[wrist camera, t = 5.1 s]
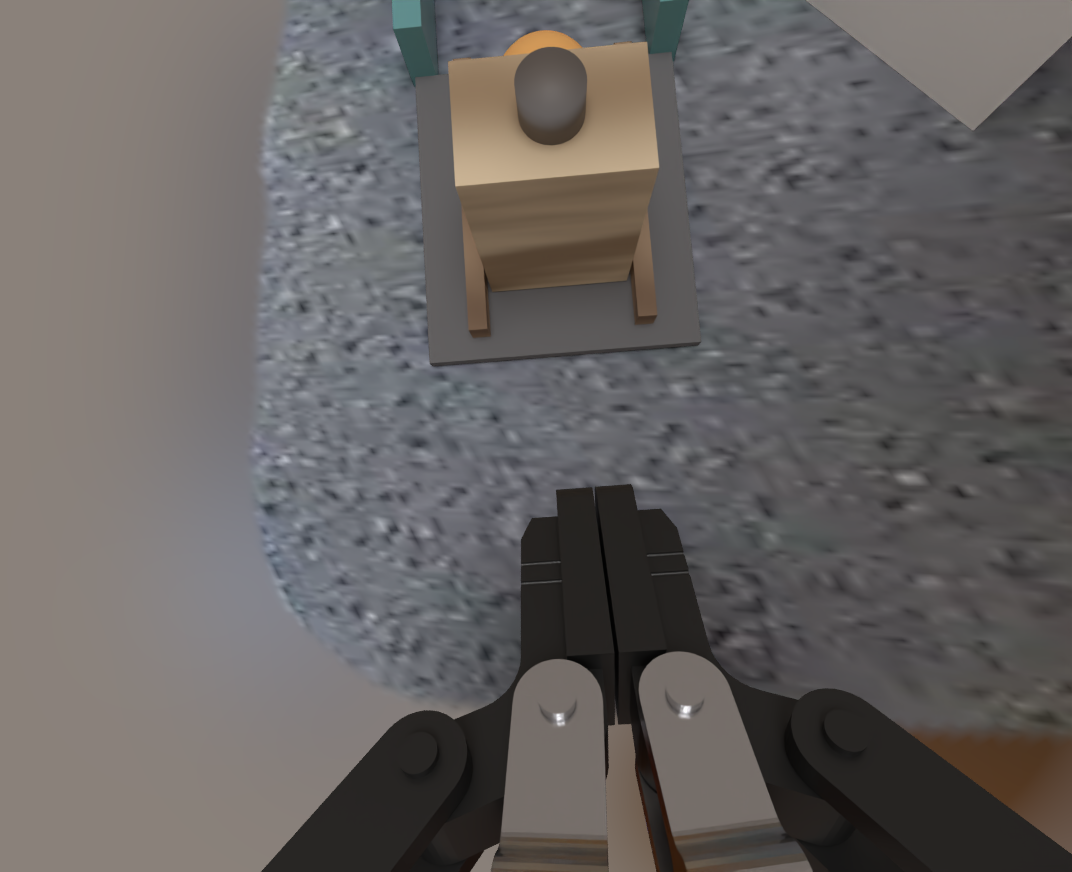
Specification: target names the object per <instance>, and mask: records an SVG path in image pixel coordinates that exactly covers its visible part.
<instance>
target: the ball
mask: <svg viewBox="0 0 1072 872" xmlns="http://www.w3.org/2000/svg"><path fill="white" fill-rule="evenodd" d="M544 47H560V48H563V49H566V50H568V49H578V48H582V47H581V46H580V45H579V44H578V43H577V42H576V41H575V40H573V39H572V38H570V37H569V36H567V35H565V34H563V33H560V32H556V31H548V30H544V31H536V32H532V33H529V34H527V35H525V36H523V37H521V38H520V39H518V40H517V41H516V42H515V43H514V44H512V45H511V46H510V48H509V49H508V50H507V51H506V53H505V54H504V56H508V55H518V54H528V53H531V52H533V51H535V50H537V49H540V48H544Z"/></svg>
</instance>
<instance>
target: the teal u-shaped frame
mask: <svg viewBox="0 0 1072 872" xmlns="http://www.w3.org/2000/svg"><path fill="white" fill-rule="evenodd" d="M688 2H689V0H642V5H643V15H644V26H645V36H646V42H647V47H648V54H655V53H665V52H672V60H673V61H674V58H675V54H676V50H677V46H678V42H679V38H680V34H681V30H682V26H683V22H684V18H685V14H686V10H687V6H688ZM392 13H393V30H394V33H395V35H396V38H397V41H398V43H399V46H400V49H401V52H402V54H403V57H404V60H405V63H406V65H407V68H408V71H409V74H410V76H411V79H412V82H413V85H414V87H415V86H416V83H415V77H424V76H434V75H438V58H437V40H436V22H435V4H434V0H392Z"/></svg>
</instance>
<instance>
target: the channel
mask: <svg viewBox="0 0 1072 872" xmlns="http://www.w3.org/2000/svg"><path fill="white" fill-rule="evenodd" d="M627 43H632V41H629V42H619V43H614V44H613V45H617V44H627ZM468 59H471V58H460V59H453V61H458V60H468ZM461 208H462V225H463V242H464V259H465V276H466V293H467V311H468V328H469V332H470V334H471V335H472V337H473V338H478V337H491V331H490V315H489V300H488V284H487V276H486V273H485V270H484V267H483V264H482V261H481V258H480V256H479V253H478V250H477V247H476V244H475V241H474V238H473V236H472V233H471V230H470V227H469V224H468V221H467V218H466V216H465V213H464V210H463V207H462V204H461ZM630 275H631V286H632V297H633V308H634V320H635V325H638V324H651V323H654V321H655V319H656V317H657V305H656V294H655V284H654V273H653V262H652V252H651V241H650V230H649V220H648V209H647V212H646V216H645V219H644V223H643V226H642V229H641V233H640V236H639V240H638V243H637V247H636V250H635V254H634V257H633V261H632V264H631V268H630Z"/></svg>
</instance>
